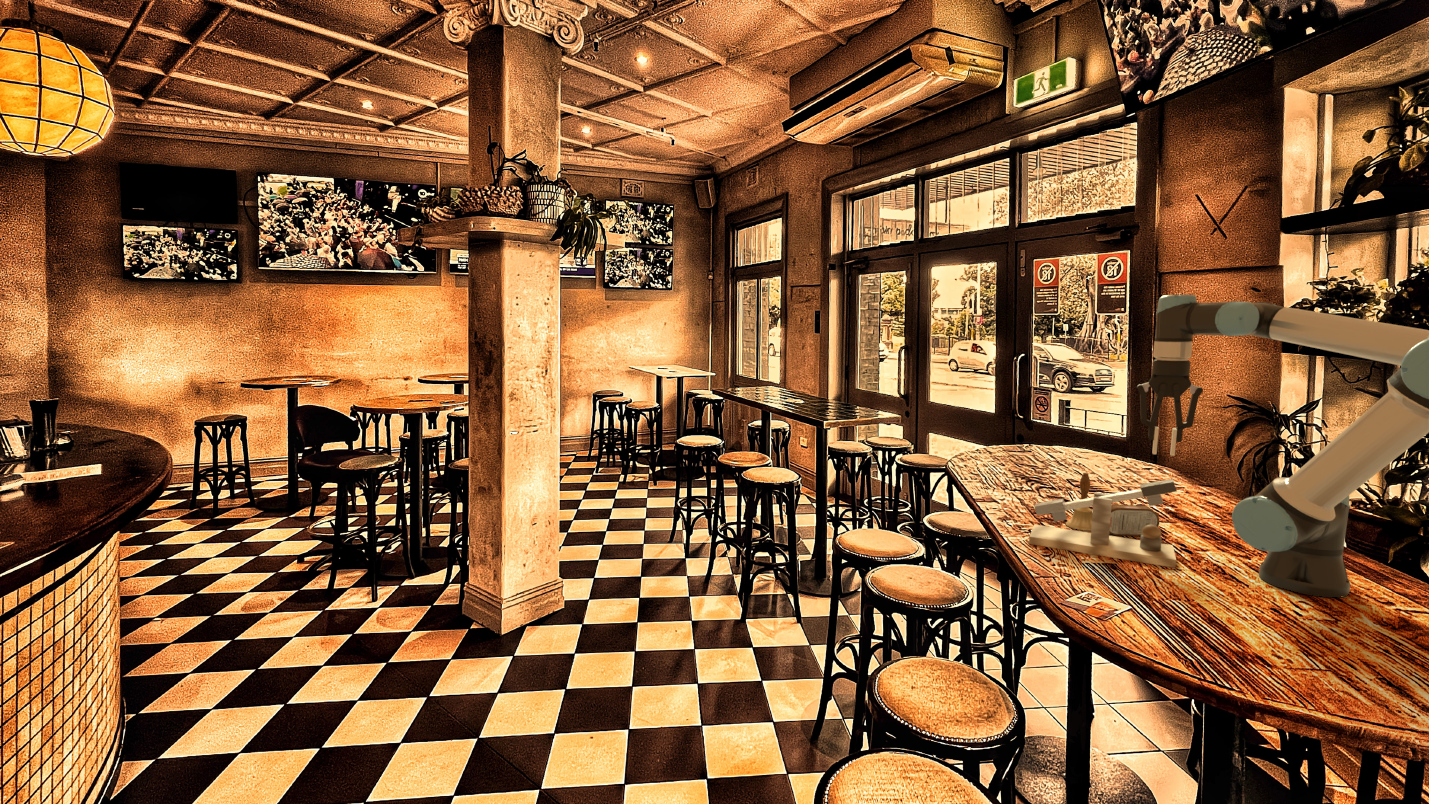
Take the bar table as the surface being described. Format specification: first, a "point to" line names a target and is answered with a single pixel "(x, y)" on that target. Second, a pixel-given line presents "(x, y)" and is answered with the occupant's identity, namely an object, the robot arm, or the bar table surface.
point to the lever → (1147, 490)
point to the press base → (1102, 550)
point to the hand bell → (1082, 509)
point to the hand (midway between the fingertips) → (1163, 453)
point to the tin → (1131, 519)
